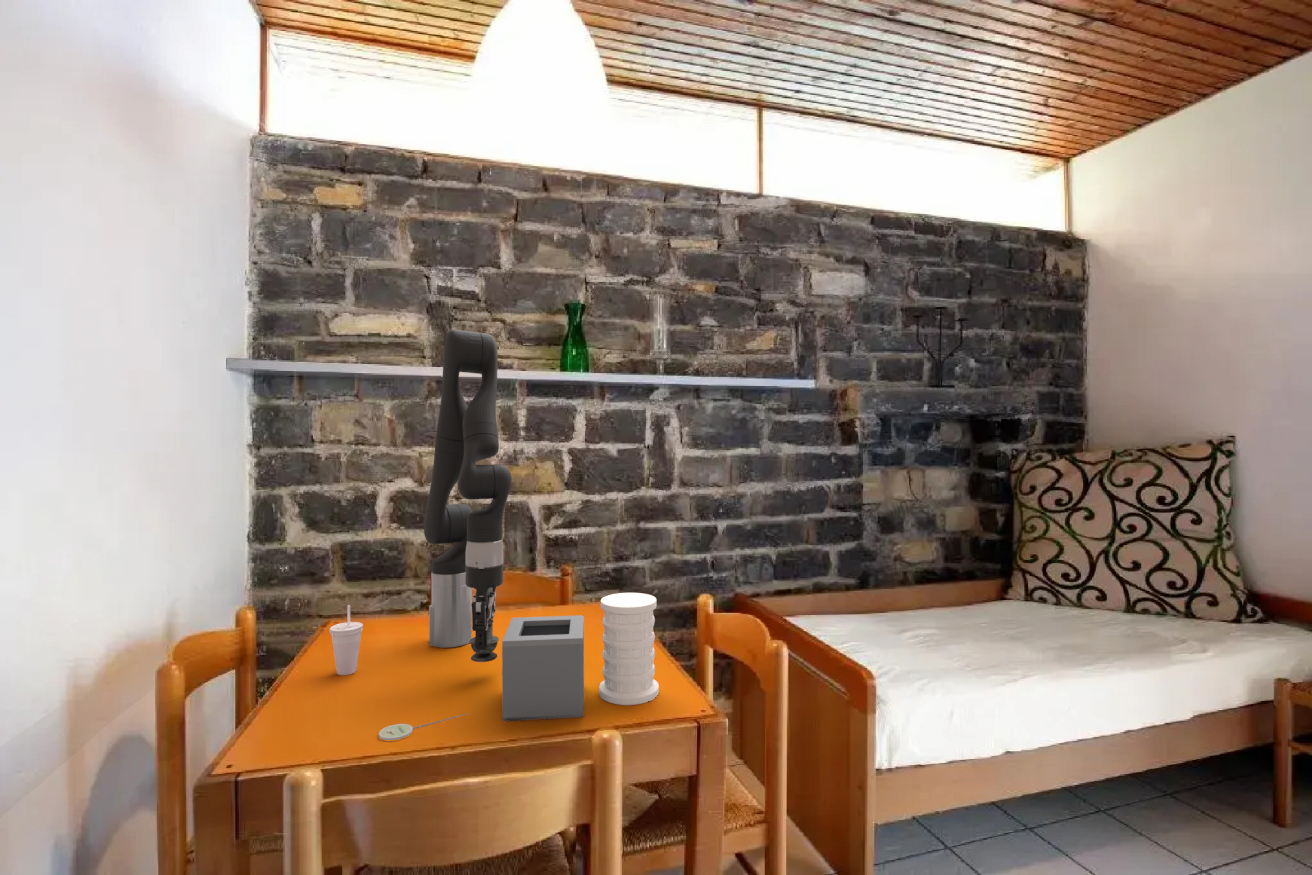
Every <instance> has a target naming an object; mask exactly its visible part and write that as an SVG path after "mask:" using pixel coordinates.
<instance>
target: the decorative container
mask: <svg viewBox="0 0 1312 875" xmlns="http://www.w3.org/2000/svg"><path fill="white" fill-rule="evenodd" d="M657 603H658V602H657V598H656V597H655V596H654V595H652V594H648V593H641V592H619V593H612V594H609V595H605V596H603V597H601V599H600V609H601V610H603V612H604V613H603V614H604V616H603V618H602V625H603V626H602V627H603V628H604V631H603V634H602V642H603V644H604V646H603V647H604V648H603V650H602V658H603V660H604V661H603V662H604V663H603V664H604V665H603V668H602V673H603V674H602V675H603V677H604V680H603V681H601V682H600V683H599V687H598V691H599V692H598V695H599V696H600V698H601V699H602V700H603V701H605V702H607V703H610V704H614V705H619V706H620V705H622V706H634V705H636V706H637V705H641V704H645V703H649V702H650V701H653V700H655V699H656V698H657V697H658V696H657V695H659V694H658V693H659V692H660V691H659V690H660V686H659V685H660V684H659V682H658V681H657V680H655V679H654V676H655V671H656V667H655V664H654V659H655V656H656V651H655V648H654V642H655V640H656V639H655V638H656V635H655V632H654V626H655V622H656V619H655V616H654V610H655V609H656V608H657V605H658V604H657ZM655 697H656V698H655ZM648 701H649V702H648Z"/></svg>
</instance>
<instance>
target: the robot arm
mask: <svg viewBox="0 0 1312 875" xmlns="http://www.w3.org/2000/svg"><path fill="white" fill-rule="evenodd" d="M498 355H499V353H498V345H497V341H496V339H495V337H494V336H493V335H492V334H489V333H486V332H485V333H484V332H479V331H478V332H476V331H469V330H462V329H451V330H449V331H448V332H447V334H446V338H445V340H444V346H443V360H442V378H441V381H442V383H441V396H440V405H439V412H438V413H439V414H438V420H437V426H436V427H437V428H436V433H435V434H436V435H435V443H434V444H435V445H434V453H433V454H434V455H433V456H434V457H433V465H432V466H433V467H432V473H431V474H432V475H431V482H430V488H429V493H428V498H427V503H426V507H425V513H424V520H423V533H424V537H425V540H426V541H427V542H428V544H431V545H441V544H442V545H444V544H451V543H453V544H452V546H451V547H450V549H448V550H447V551H446V552H444V553H443V554H441V555H439V556H437V557H435V558H433V560H432V561H431V568H430V570H431V574H430V575H431V604H430V605H429V607H428V615H429V616H428V619H429V620H428V623H429V624H428V628H429V630H428V633H429V634H428V635H429V637H428V639H429V640H428V643H429V644H428V646H429V647H436V648H442V649H443V648H455V647H456V648H457V647H462V646H464V645H468V644H470V642H469V641H470V640H471V639H472V638H473V636H472V635H473V631H474V632H475V634H474V635H475V636H474V637H475V648H476V649H486V648H487V629H488V619H490V618H491V609H492V620H494V618H495V613H496V597H497V594H496V593H497V592H496V591H497V587H500V586H502V585H503V583H504V544H503V518H504V513H505V510H506V509H505V508H506V504H507V500H508V497H509V494H510V492H511V491H510V490H511V487H512V483H513V482H512V481H513V479H512V473H511V471H510V469H509V468H508V466H506V465H504V464H498V463H497V464H476V463H477V462H479V461H483V460H486V459H490V458H492V457H495V456H496V455H497V454H498V453H499V451H500V444H499V443H500V442H499V434H498V425H497V424H498V423H497V410H496V408H497V392H498V391H497V389H498V363H499V362H498V359H499V357H498ZM460 373H466V374H467V373H469V374H478V375H479V374H480V375H481V384H480V385H479V388H478V390H477V392H476V394H475V395H474V397H473V398H472V400H471V401H470V402H469V404H467V402H466V400H465V398H464V395H463V393H462V390H461V386H460V385H461V384H460ZM456 484H457V489H458V492H459V494H460V495H461V497H463V498H464V499H466V500H491V502H490V504H488V506H487V507H484V508H482V509H477V510H475V511H473V510H472V508H471V507H470V505H469V504H468V503H452V504H447V503H448V501H449V500H448V499H449V497H450V494H451V493H452V490H453V488H454V487H455V486H456ZM472 589H475V591H476V592H475V595H473V596H472ZM486 613H487V614H486ZM478 620H482V621H483V624H478ZM493 623H494V622H493ZM493 623H492V634H493V633H494V632H493V629H494V628H493V627H494V626H493ZM493 635H494V634H493Z"/></svg>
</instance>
